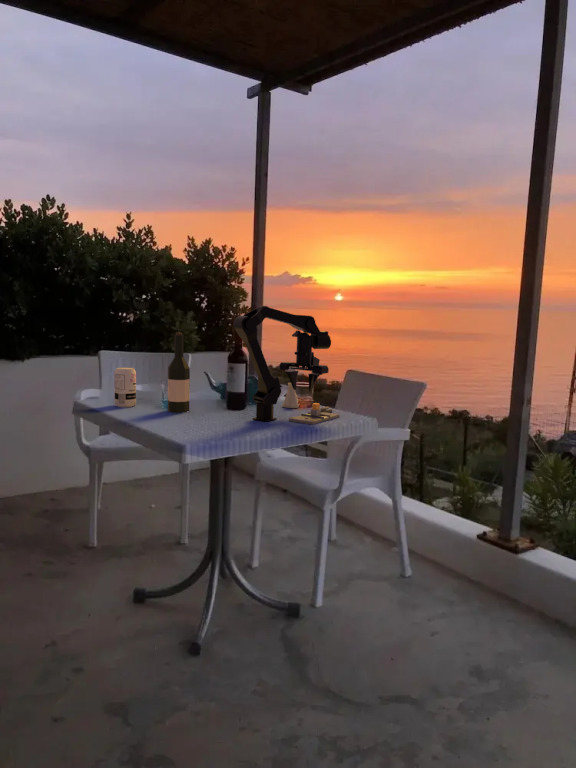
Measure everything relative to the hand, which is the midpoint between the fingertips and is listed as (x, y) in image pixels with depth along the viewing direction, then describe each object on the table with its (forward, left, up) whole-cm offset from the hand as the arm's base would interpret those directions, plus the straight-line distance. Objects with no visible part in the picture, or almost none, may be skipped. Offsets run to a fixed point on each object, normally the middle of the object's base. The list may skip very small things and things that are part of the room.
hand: (302, 390), depth 223 cm
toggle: (0, -6, -9) cm, 11 cm away
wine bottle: (-22, +42, -10) cm, 49 cm away
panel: (0, -6, -10) cm, 12 cm away
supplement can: (-28, +65, -10) cm, 72 cm away
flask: (+16, +15, -10) cm, 24 cm away
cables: (+13, -2, -10) cm, 16 cm away
